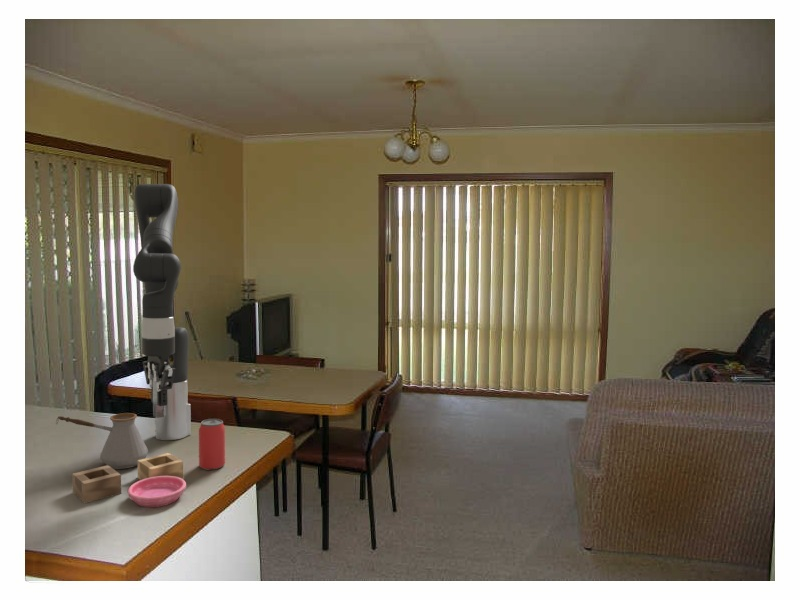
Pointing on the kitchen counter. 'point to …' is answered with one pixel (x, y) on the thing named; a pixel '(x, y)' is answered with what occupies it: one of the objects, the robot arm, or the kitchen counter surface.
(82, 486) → the walnut block
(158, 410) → the pin
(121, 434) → the coffee pot
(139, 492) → the saucer
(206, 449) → the beer can
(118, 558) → the kitchen counter surface
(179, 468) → the oak block
